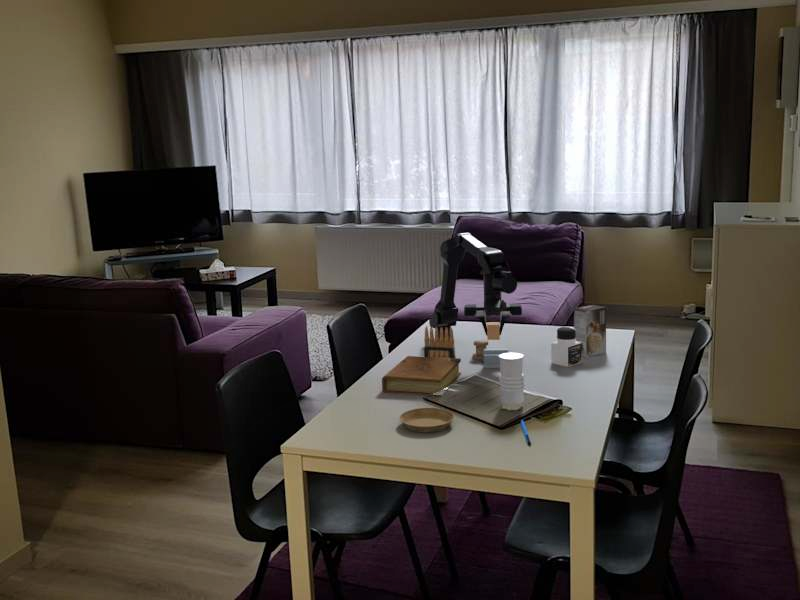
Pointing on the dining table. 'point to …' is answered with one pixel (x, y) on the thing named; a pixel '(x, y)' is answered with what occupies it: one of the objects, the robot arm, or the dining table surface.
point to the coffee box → (591, 329)
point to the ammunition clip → (445, 344)
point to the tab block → (493, 331)
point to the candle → (511, 378)
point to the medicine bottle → (566, 348)
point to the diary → (421, 375)
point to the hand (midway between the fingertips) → (493, 335)
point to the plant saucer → (426, 419)
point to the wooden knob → (479, 349)
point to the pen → (525, 433)
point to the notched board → (493, 357)
